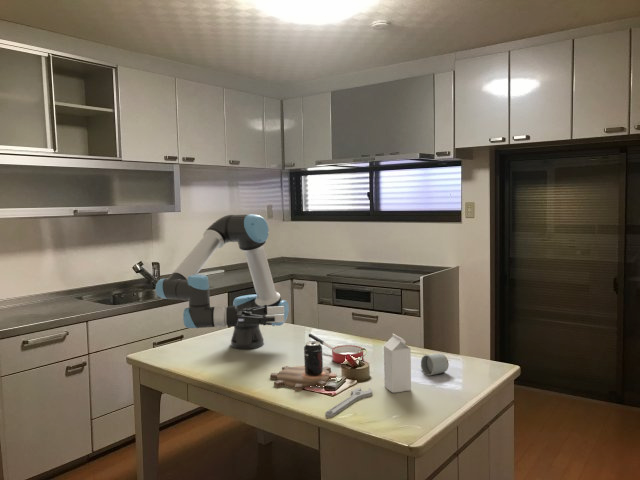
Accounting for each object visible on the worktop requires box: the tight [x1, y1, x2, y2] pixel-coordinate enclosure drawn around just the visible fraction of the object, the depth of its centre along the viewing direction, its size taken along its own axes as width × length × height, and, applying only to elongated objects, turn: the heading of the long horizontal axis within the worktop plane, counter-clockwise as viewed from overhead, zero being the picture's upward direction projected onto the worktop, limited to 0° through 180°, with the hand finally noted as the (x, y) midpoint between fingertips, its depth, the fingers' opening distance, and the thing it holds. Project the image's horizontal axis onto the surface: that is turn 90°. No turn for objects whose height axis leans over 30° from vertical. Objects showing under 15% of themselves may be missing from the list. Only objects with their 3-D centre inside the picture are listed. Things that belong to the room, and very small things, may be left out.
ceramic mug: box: [420, 353, 450, 376], centre depth 201 cm, size 11×8×8 cm
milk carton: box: [383, 333, 412, 394], centre depth 185 cm, size 7×7×19 cm
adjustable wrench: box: [325, 387, 373, 418], centre depth 174 cm, size 25×6×2 cm, turn 141°
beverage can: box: [303, 340, 324, 376], centre depth 198 cm, size 7×7×12 cm
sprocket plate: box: [269, 364, 338, 392], centre depth 199 cm, size 25×25×2 cm
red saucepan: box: [308, 333, 364, 365], centre depth 226 cm, size 32×13×6 cm, turn 45°
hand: (284, 313), depth 196 cm, fingers open, 13 cm apart
